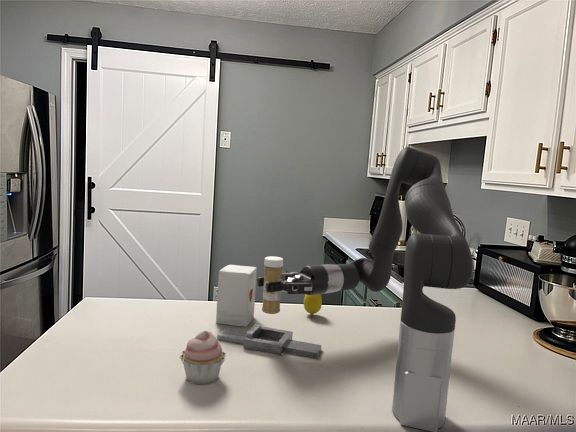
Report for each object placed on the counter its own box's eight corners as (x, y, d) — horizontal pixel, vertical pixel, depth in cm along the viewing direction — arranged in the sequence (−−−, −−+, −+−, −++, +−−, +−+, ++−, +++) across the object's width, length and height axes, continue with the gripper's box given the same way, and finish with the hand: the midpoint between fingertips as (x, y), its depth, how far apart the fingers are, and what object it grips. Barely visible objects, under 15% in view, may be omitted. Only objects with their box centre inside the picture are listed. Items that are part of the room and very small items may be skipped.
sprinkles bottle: (258, 312, 100) (261, 258, 99) (266, 307, 105) (268, 255, 103) (276, 316, 99) (279, 260, 97) (283, 310, 103) (286, 257, 102)
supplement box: (246, 327, 113) (249, 273, 111) (215, 323, 114) (217, 270, 112) (254, 316, 121) (257, 266, 120) (225, 313, 123) (227, 263, 121)
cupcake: (179, 391, 78) (181, 340, 77) (178, 368, 87) (179, 322, 86) (228, 387, 81) (231, 338, 80) (222, 365, 90) (224, 321, 89)
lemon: (299, 315, 125) (301, 289, 124) (307, 310, 130) (309, 286, 129) (316, 319, 122) (318, 293, 121) (323, 314, 127) (325, 289, 126)
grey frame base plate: (314, 362, 94) (315, 347, 94) (212, 342, 101) (213, 329, 101) (323, 346, 103) (324, 333, 103) (229, 329, 110) (229, 317, 110)
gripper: (308, 259, 114) (250, 262, 105) (338, 271, 101) (276, 277, 93) (306, 285, 114) (249, 291, 106) (336, 301, 102) (274, 309, 94)
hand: (262, 284), depth 100 cm, fingers closed on sprinkles bottle, 4 cm apart
